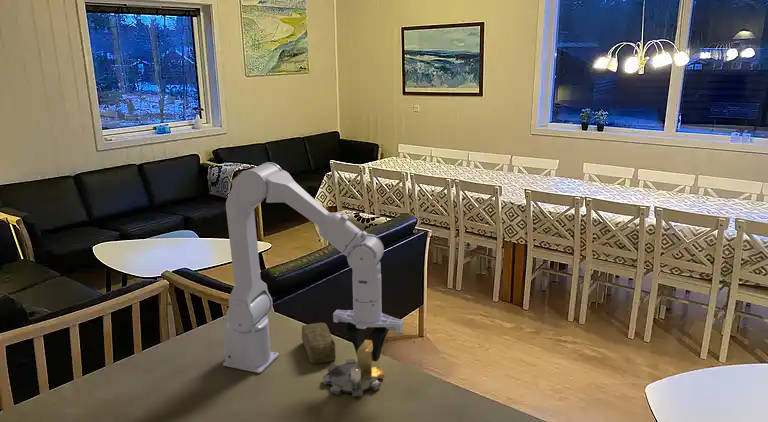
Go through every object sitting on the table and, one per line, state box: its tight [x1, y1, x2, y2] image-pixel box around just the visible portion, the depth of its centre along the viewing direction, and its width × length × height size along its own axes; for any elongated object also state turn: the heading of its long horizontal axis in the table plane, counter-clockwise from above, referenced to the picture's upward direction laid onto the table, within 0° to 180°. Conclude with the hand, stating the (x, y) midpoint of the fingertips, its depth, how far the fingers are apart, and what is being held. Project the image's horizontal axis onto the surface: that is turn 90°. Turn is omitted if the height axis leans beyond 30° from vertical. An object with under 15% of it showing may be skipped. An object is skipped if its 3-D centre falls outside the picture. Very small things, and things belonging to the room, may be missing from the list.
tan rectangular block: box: [356, 339, 380, 379], centre depth 112 cm, size 3×4×6 cm, turn 160°
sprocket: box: [322, 358, 385, 398], centre depth 111 cm, size 12×12×4 cm
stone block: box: [301, 322, 337, 365], centre depth 123 cm, size 6×12×5 cm, turn 19°
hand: (368, 357), depth 112 cm, fingers closed on tan rectangular block, 3 cm apart
